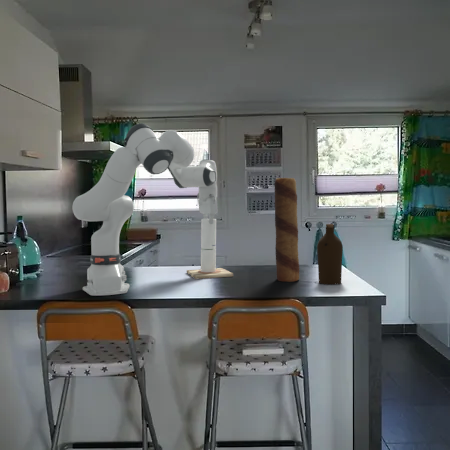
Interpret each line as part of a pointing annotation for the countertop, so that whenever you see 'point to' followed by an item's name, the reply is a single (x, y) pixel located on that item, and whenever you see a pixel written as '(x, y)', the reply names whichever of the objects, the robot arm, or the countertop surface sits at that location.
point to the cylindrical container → (208, 246)
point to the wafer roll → (286, 230)
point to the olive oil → (329, 257)
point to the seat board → (210, 273)
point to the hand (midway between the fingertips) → (208, 223)
